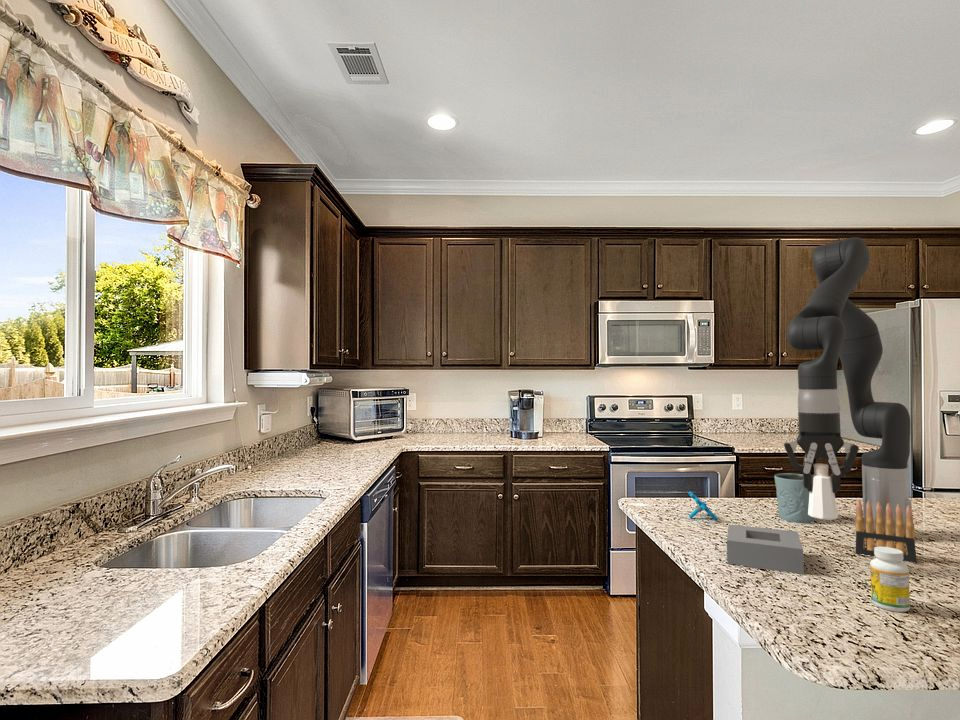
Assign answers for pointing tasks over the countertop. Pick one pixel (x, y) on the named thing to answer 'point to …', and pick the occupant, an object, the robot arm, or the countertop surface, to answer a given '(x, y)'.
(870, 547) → the ammunition clip
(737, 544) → the frame
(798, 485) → the blue cup
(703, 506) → the blue t-shaped piece
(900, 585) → the supplement bottle
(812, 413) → the robot arm
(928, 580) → the countertop surface
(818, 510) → the pepper shaker
